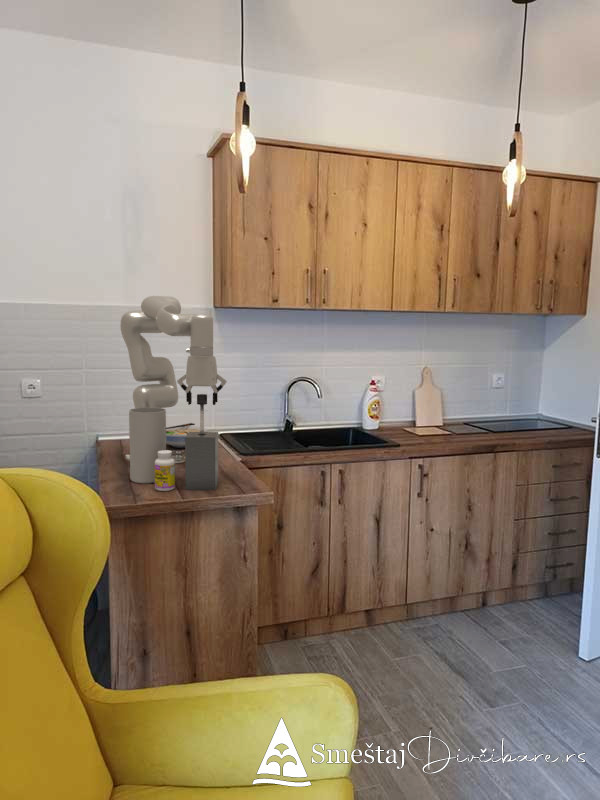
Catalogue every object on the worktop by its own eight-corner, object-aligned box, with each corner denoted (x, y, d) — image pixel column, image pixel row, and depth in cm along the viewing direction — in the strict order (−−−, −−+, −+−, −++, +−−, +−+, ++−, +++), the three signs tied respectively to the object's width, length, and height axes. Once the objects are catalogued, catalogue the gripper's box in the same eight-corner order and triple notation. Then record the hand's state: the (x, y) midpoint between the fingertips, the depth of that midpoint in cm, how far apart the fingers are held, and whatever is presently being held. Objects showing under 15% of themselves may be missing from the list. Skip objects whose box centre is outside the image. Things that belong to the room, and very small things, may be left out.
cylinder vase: (134, 474, 219) (133, 407, 216) (169, 475, 220) (168, 407, 217) (126, 484, 207) (125, 412, 204) (162, 484, 208) (162, 413, 204)
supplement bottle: (150, 490, 200) (150, 452, 198) (162, 485, 206) (161, 448, 204) (168, 492, 198) (167, 454, 196) (178, 487, 204) (178, 450, 202)
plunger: (190, 458, 201) (189, 395, 199) (193, 453, 208) (192, 393, 206) (211, 458, 202) (211, 396, 199) (213, 454, 209) (213, 393, 206)
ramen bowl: (175, 454, 253) (175, 435, 252) (143, 446, 268) (142, 428, 267) (219, 445, 272) (219, 428, 271) (187, 438, 287) (187, 422, 286)
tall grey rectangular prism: (185, 489, 201) (185, 437, 199) (190, 479, 214) (190, 430, 212) (215, 490, 202) (215, 437, 199) (218, 479, 215) (219, 430, 212)
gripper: (173, 352, 196) (174, 405, 199) (227, 353, 197) (227, 406, 199) (177, 351, 204) (177, 402, 206) (228, 352, 205) (228, 403, 207)
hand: (202, 404), depth 203 cm, fingers open, 7 cm apart
